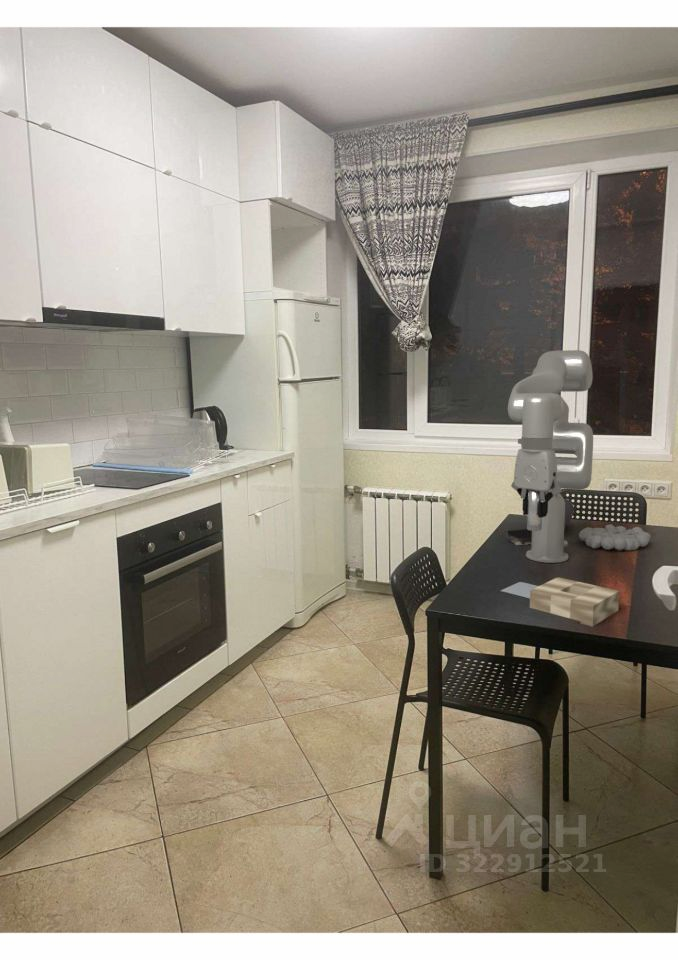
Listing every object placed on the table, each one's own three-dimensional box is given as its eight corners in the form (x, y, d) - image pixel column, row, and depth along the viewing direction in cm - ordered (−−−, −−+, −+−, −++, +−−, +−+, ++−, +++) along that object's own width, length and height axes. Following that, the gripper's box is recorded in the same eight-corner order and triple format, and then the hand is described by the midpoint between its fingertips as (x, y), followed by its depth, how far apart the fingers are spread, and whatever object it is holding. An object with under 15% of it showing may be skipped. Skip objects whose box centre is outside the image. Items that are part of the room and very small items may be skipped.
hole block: (557, 595, 175) (557, 577, 174) (618, 610, 164) (619, 590, 163) (529, 609, 166) (530, 590, 165) (592, 626, 154) (593, 605, 154)
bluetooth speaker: (567, 537, 233) (568, 509, 231) (539, 535, 237) (540, 507, 235) (575, 523, 253) (576, 497, 251) (549, 521, 257) (550, 495, 255)
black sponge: (545, 537, 235) (546, 526, 235) (560, 543, 227) (560, 532, 227) (504, 541, 231) (504, 530, 230) (516, 547, 223) (517, 536, 222)
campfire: (639, 558, 208) (640, 540, 207) (570, 548, 220) (571, 531, 219) (656, 542, 225) (657, 525, 224) (591, 534, 237) (592, 518, 236)
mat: (520, 583, 185) (520, 581, 185) (553, 591, 178) (553, 589, 178) (500, 592, 178) (500, 590, 178) (534, 601, 171) (534, 599, 171)
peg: (531, 526, 176) (533, 481, 174) (544, 529, 173) (545, 483, 171) (524, 529, 173) (525, 483, 172) (536, 531, 171) (538, 485, 169)
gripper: (500, 443, 173) (498, 513, 176) (560, 448, 161) (557, 523, 164) (516, 441, 178) (514, 508, 181) (575, 445, 166) (572, 518, 169)
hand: (534, 514), depth 173 cm, fingers closed on peg, 3 cm apart
